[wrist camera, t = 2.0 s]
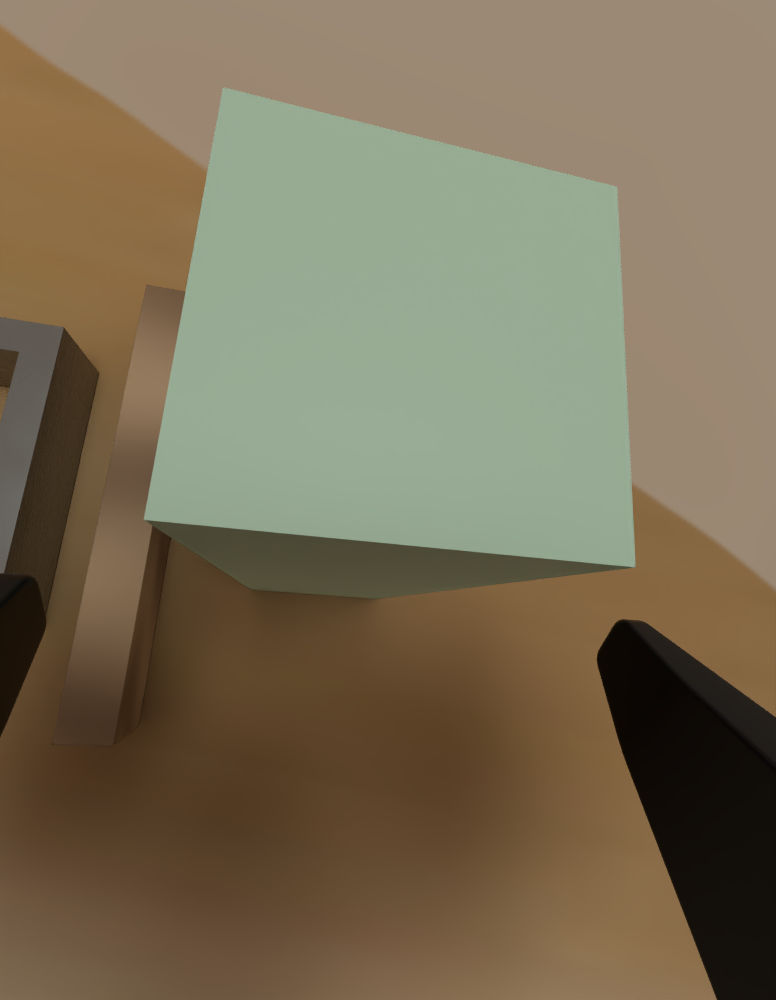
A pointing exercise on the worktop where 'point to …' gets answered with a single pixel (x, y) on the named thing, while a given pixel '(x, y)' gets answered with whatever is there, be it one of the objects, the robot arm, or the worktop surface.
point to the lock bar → (394, 365)
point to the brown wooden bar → (124, 551)
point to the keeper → (39, 443)
